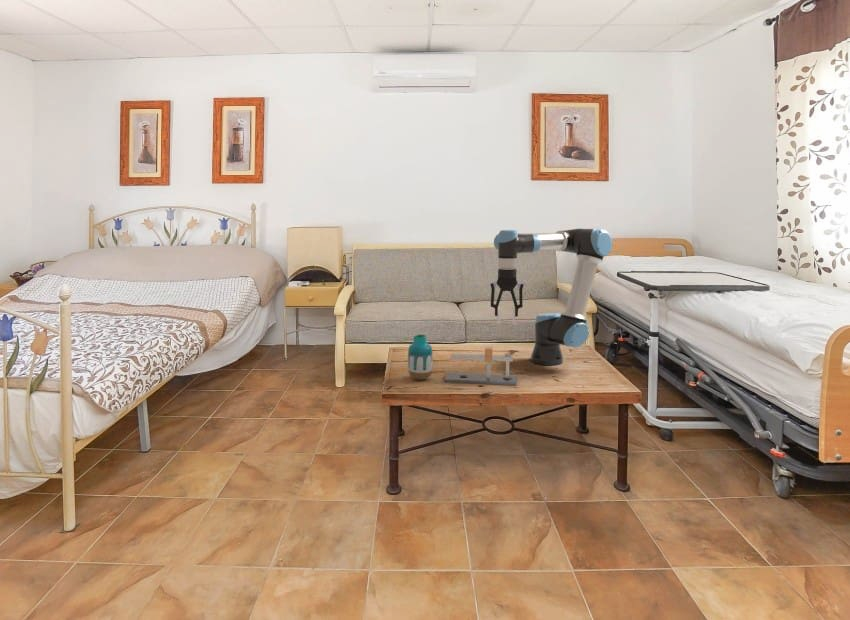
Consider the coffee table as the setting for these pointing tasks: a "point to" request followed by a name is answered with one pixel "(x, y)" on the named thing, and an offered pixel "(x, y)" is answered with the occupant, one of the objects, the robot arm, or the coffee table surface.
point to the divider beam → (506, 357)
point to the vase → (420, 358)
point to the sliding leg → (488, 358)
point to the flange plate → (481, 378)
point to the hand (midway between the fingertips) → (506, 323)
